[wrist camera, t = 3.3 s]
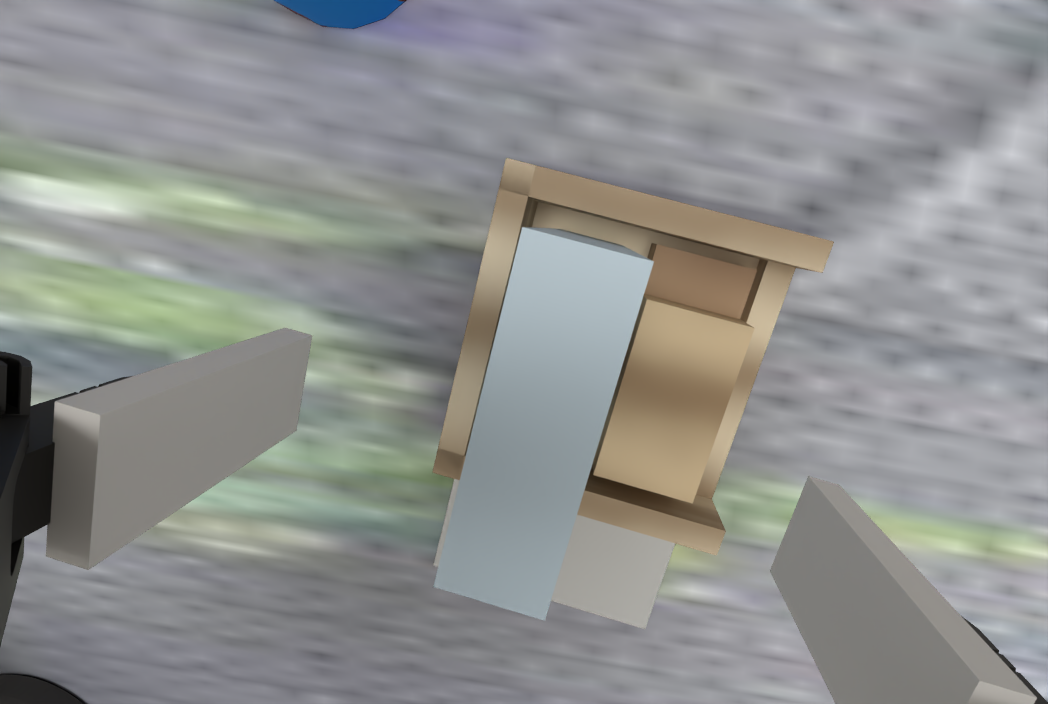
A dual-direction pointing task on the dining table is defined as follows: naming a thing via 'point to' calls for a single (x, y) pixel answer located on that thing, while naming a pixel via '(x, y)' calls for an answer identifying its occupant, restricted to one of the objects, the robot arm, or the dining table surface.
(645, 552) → the mat
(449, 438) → the box
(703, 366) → the offcut
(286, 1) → the thermos
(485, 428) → the pale blue block
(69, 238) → the dining table surface
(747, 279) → the offcut
